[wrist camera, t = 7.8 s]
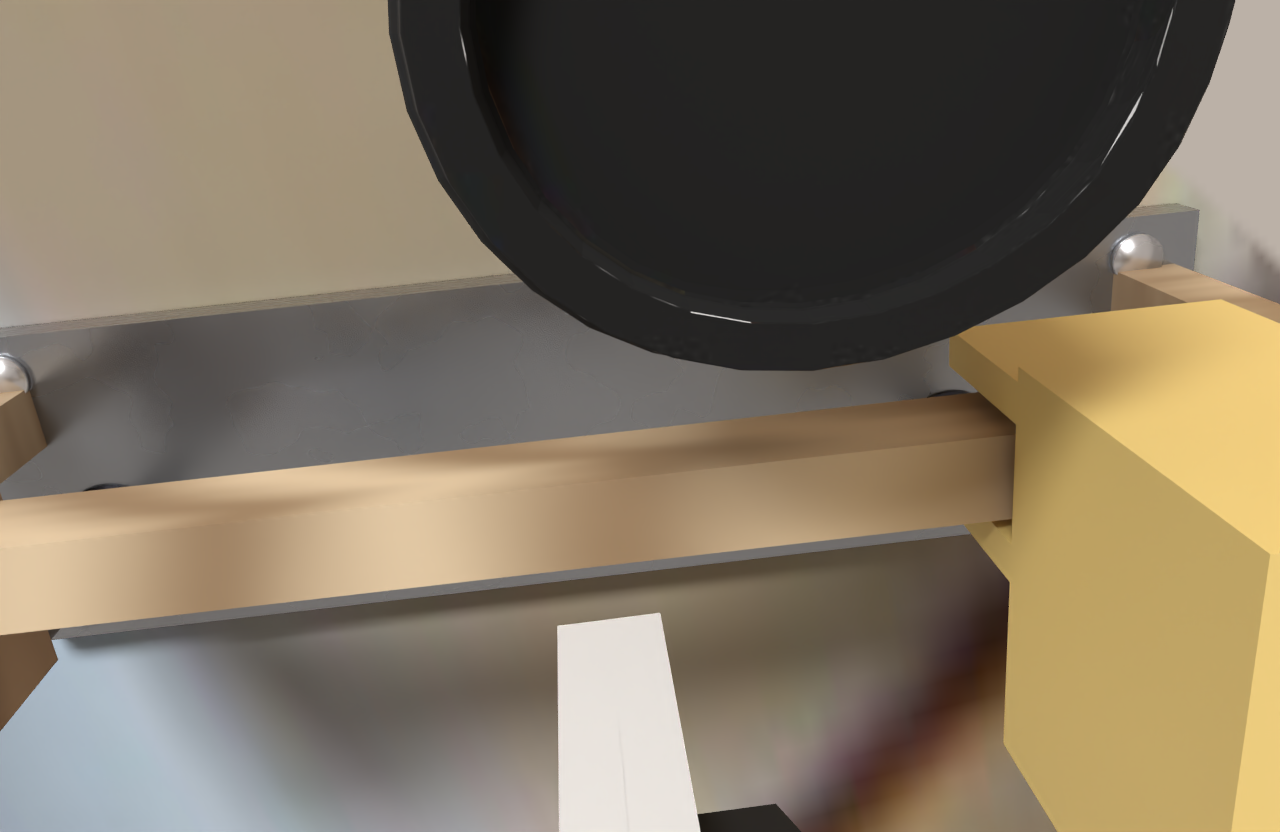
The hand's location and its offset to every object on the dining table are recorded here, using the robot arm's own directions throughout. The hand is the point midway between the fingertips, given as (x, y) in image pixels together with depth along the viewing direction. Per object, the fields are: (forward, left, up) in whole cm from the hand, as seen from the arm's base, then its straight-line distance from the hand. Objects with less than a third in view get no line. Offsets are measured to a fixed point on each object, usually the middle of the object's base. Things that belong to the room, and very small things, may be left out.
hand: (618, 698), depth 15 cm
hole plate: (0, 0, -12) cm, 12 cm away
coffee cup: (+3, +9, -12) cm, 16 cm away
